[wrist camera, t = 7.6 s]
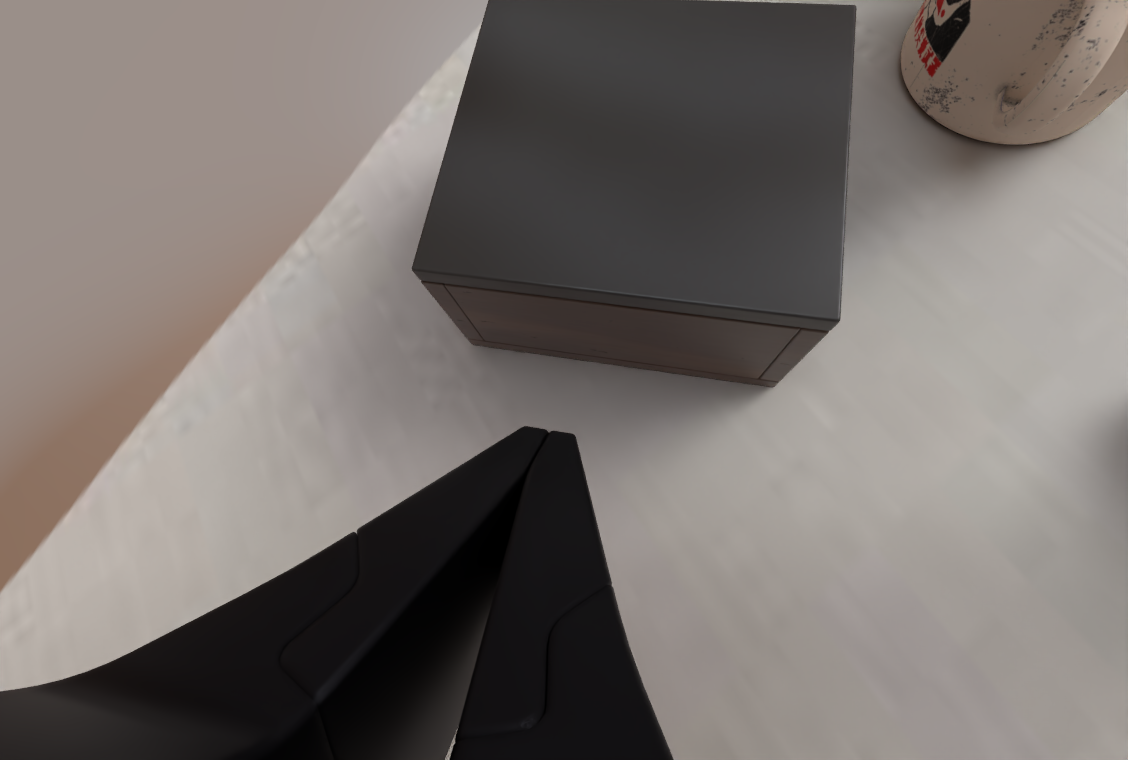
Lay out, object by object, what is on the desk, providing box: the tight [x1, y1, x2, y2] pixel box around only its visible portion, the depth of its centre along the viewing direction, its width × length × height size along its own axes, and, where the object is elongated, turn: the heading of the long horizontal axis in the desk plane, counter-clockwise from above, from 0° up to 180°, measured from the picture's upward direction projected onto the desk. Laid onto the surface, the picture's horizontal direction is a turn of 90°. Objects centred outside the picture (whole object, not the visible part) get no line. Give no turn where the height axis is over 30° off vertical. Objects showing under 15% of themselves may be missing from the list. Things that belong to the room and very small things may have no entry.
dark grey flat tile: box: [412, 0, 856, 331], centre depth 17 cm, size 11×13×1 cm
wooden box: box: [421, 281, 829, 387], centre depth 20 cm, size 11×13×6 cm
